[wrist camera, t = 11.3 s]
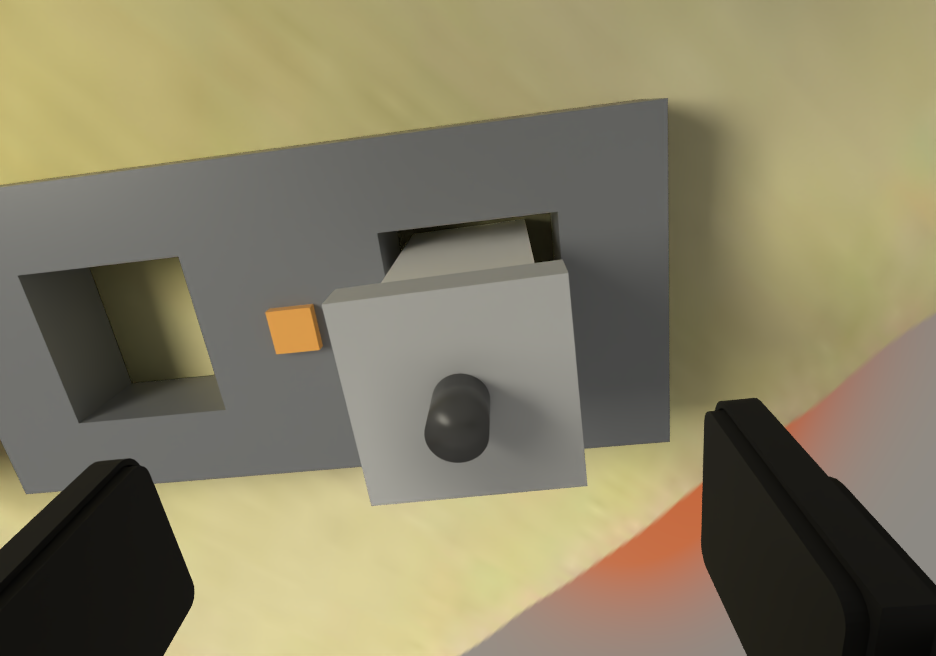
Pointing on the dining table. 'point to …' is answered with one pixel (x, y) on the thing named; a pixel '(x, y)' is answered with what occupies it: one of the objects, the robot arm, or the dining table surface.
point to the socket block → (317, 286)
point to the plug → (461, 369)
